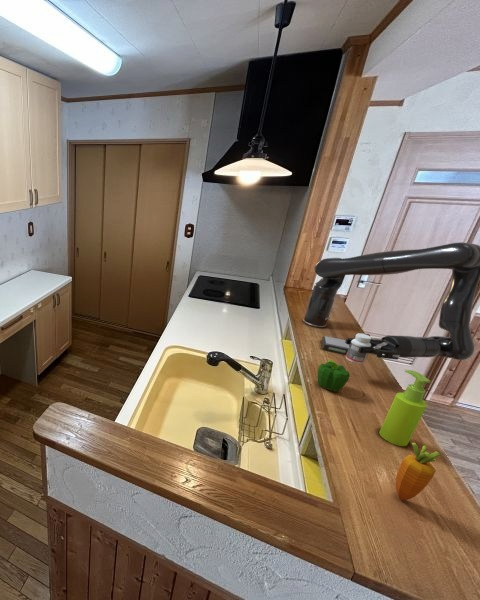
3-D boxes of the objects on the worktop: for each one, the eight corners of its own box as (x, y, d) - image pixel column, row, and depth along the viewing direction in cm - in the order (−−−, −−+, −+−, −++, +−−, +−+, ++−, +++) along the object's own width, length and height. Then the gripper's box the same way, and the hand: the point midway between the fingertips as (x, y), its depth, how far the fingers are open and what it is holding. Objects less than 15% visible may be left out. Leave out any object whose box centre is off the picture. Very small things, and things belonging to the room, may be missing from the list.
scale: (321, 341, 143) (323, 335, 141) (346, 346, 138) (348, 340, 137) (322, 349, 135) (324, 343, 134) (349, 355, 131) (352, 349, 130)
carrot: (380, 489, 74) (405, 439, 69) (399, 488, 75) (426, 438, 69) (402, 510, 70) (430, 458, 64) (422, 509, 70) (453, 457, 65)
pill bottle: (350, 355, 118) (359, 331, 114) (367, 362, 113) (377, 337, 110) (342, 358, 116) (350, 334, 112) (359, 365, 111) (369, 340, 107)
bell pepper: (344, 386, 111) (354, 361, 107) (342, 397, 105) (351, 371, 102) (315, 376, 116) (323, 352, 113) (311, 386, 111) (320, 361, 107)
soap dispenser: (393, 428, 93) (420, 369, 86) (413, 447, 86) (445, 384, 79) (371, 426, 93) (396, 367, 86) (390, 445, 87) (419, 383, 80)
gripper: (388, 327, 117) (341, 326, 117) (426, 347, 104) (373, 346, 104) (380, 345, 120) (334, 344, 120) (417, 367, 107) (365, 366, 107)
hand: (353, 345), depth 112 cm, fingers closed on pill bottle, 5 cm apart
